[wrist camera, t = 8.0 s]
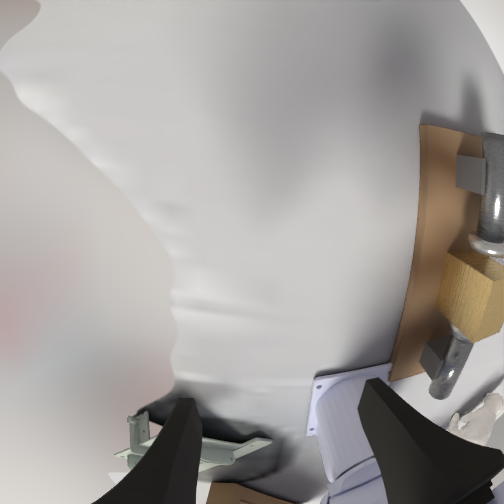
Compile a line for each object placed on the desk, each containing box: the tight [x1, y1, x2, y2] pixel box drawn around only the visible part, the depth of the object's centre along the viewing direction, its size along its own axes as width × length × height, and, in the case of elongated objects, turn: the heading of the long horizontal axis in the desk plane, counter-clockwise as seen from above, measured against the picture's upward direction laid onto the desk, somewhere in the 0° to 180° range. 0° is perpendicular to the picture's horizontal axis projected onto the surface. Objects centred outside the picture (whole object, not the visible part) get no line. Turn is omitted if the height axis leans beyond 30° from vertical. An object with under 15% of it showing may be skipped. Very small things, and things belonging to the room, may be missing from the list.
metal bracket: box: [114, 411, 273, 472], centre depth 25 cm, size 14×6×15 cm
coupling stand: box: [388, 125, 504, 400], centre depth 17 cm, size 22×9×6 cm, turn 3°
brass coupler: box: [435, 249, 504, 343], centre depth 16 cm, size 5×4×6 cm
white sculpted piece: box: [449, 393, 503, 446], centre depth 25 cm, size 6×8×12 cm
